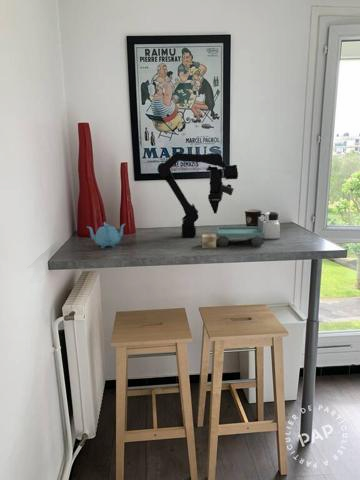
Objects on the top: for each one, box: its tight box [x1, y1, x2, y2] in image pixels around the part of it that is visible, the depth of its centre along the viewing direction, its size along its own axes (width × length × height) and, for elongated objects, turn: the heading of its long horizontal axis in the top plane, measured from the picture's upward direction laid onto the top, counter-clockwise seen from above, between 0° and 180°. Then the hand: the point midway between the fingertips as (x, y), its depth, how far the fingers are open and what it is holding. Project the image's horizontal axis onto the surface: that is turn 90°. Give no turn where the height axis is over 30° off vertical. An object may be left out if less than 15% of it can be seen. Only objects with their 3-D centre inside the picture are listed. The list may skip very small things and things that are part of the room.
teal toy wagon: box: [216, 216, 264, 248], centre depth 163 cm, size 20×14×11 cm
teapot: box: [87, 221, 126, 249], centre depth 163 cm, size 13×13×10 cm
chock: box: [201, 233, 217, 249], centre depth 159 cm, size 6×5×5 cm
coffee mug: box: [244, 208, 265, 227], centre depth 189 cm, size 12×9×10 cm
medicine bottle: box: [263, 211, 281, 240], centre depth 172 cm, size 7×7×12 cm
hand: (215, 211), depth 176 cm, fingers open, 9 cm apart
